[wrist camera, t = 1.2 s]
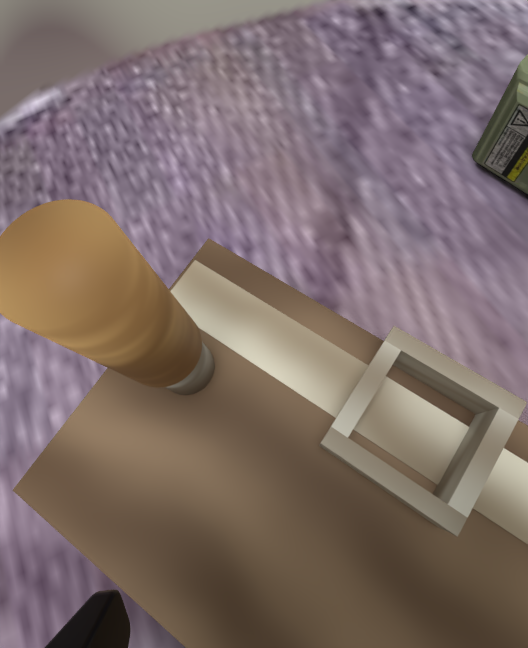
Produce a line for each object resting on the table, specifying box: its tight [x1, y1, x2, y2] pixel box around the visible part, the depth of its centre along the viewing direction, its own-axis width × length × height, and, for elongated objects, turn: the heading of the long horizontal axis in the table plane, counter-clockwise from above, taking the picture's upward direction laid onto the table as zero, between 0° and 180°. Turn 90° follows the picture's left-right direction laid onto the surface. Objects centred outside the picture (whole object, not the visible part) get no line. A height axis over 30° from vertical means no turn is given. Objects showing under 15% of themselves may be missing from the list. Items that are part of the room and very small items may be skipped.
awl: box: [0, 199, 215, 395], centre depth 16 cm, size 3×3×12 cm
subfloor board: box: [13, 238, 528, 648], centre depth 19 cm, size 16×23×4 cm
